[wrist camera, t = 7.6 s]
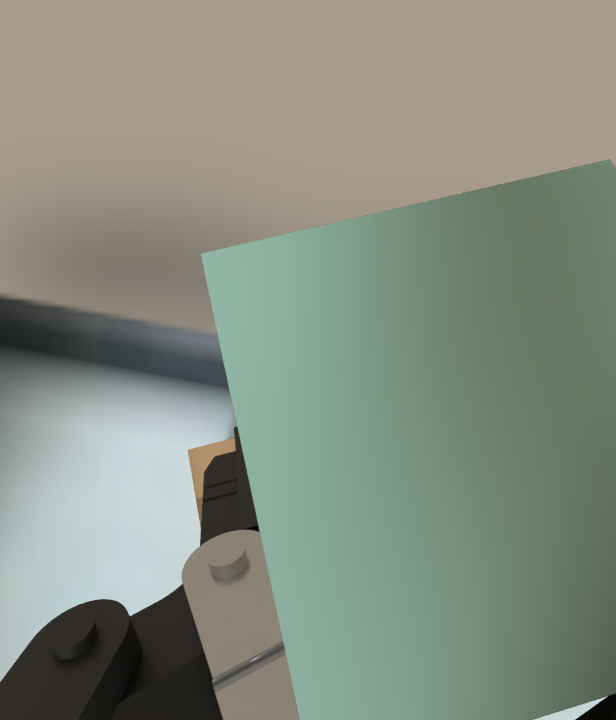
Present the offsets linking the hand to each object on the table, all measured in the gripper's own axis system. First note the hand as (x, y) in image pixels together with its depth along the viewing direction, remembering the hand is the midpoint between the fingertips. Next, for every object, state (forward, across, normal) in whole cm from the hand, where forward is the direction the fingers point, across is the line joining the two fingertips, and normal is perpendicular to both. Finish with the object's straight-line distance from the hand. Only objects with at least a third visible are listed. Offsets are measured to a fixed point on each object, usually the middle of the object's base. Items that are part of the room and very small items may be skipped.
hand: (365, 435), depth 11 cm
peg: (+2, 0, +5) cm, 5 cm away
